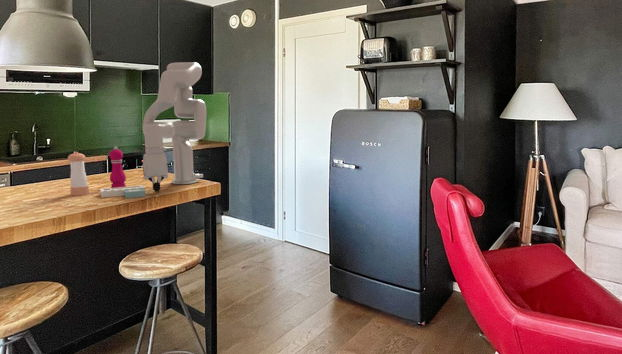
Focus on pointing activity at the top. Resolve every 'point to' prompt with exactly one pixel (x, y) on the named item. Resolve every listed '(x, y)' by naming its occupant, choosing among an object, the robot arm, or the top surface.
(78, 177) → the pepper shaker
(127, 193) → the stub
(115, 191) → the ticket
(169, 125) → the robot arm
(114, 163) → the pepper mill
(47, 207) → the top surface
